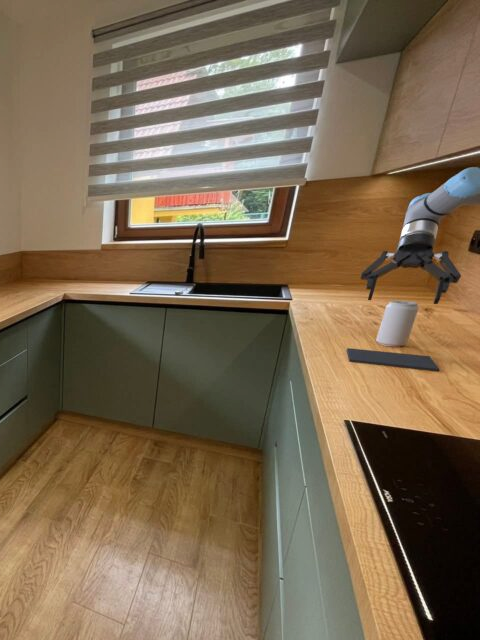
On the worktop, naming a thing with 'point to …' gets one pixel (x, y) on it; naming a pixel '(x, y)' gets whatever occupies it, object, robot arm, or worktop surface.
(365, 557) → the worktop surface
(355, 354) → the mat
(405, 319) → the beverage can
